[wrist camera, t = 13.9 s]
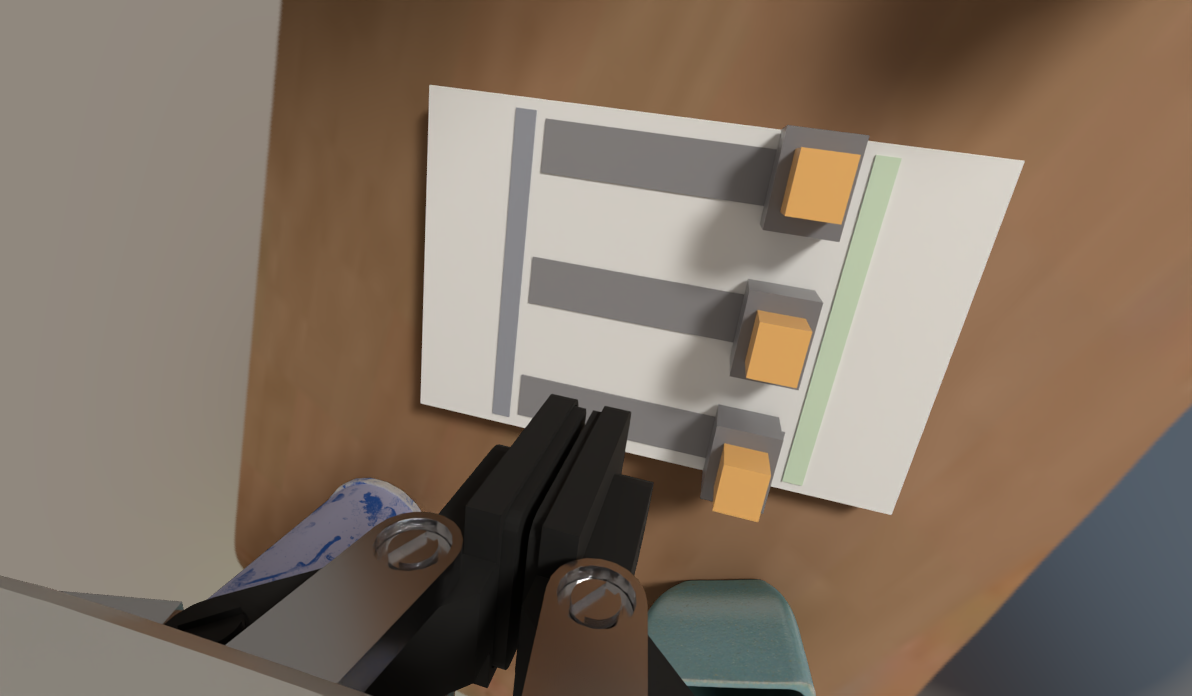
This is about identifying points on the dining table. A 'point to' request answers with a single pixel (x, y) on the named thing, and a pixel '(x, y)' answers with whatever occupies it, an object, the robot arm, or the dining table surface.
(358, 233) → the dining table surface
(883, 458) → the panel
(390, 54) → the dining table surface
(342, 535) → the aerosol can
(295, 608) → the robot arm
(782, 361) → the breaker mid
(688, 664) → the flower pot
